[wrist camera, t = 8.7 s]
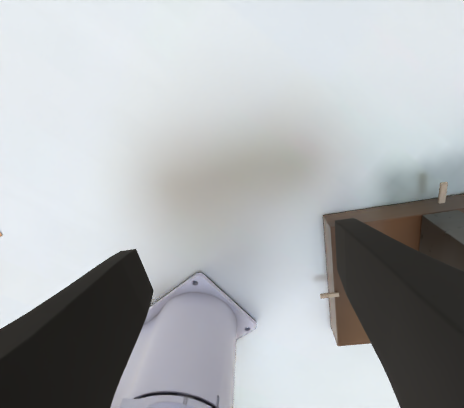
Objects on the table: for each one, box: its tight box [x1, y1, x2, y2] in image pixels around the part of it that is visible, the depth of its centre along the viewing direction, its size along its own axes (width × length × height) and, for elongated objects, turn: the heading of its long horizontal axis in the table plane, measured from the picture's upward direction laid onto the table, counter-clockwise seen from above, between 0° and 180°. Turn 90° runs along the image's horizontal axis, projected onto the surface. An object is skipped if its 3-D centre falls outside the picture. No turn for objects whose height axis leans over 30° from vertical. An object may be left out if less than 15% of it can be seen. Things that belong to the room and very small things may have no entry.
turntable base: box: [320, 182, 464, 346], centre depth 20 cm, size 16×16×2 cm
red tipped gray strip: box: [419, 210, 464, 271], centre depth 17 cm, size 12×2×5 cm, turn 12°
